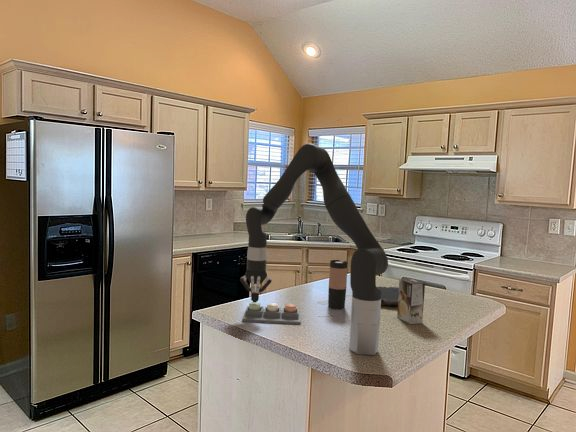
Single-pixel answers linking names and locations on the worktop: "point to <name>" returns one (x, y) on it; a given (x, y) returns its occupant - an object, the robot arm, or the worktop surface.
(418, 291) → the coffee box
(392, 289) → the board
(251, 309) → the sage button
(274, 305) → the cream button
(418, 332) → the worktop surface
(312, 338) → the worktop surface
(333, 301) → the travel mug
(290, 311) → the terracotta button
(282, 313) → the button panel
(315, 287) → the worktop surface
